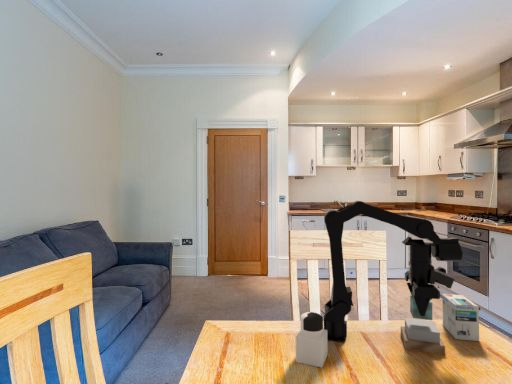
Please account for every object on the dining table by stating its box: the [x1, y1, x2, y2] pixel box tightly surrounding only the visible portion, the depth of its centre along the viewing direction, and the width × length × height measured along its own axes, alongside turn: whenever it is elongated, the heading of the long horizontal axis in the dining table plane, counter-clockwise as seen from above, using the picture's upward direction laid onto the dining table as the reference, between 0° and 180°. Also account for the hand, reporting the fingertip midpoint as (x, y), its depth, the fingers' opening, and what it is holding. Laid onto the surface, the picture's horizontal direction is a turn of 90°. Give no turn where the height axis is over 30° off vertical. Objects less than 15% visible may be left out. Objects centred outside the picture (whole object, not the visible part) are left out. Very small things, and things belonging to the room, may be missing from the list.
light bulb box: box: [441, 293, 480, 342], centre depth 98 cm, size 11×7×11 cm, turn 168°
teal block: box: [409, 295, 433, 321], centre depth 92 cm, size 5×5×5 cm
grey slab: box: [404, 317, 441, 343], centre depth 92 cm, size 8×8×3 cm
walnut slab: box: [400, 325, 446, 355], centre depth 92 cm, size 10×10×3 cm
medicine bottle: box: [295, 311, 329, 368], centre depth 84 cm, size 7×7×12 cm
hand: (420, 312), depth 92 cm, fingers closed on teal block, 5 cm apart
